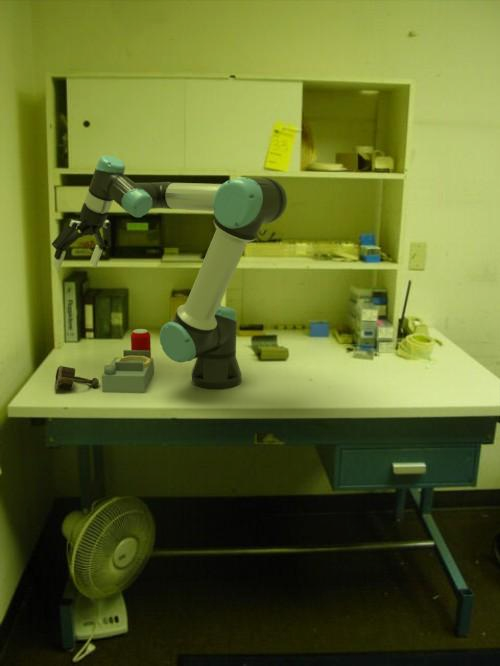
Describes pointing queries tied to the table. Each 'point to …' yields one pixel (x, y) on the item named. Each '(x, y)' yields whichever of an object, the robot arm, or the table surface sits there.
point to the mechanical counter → (71, 378)
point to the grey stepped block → (128, 372)
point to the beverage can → (141, 340)
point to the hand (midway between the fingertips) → (75, 266)
